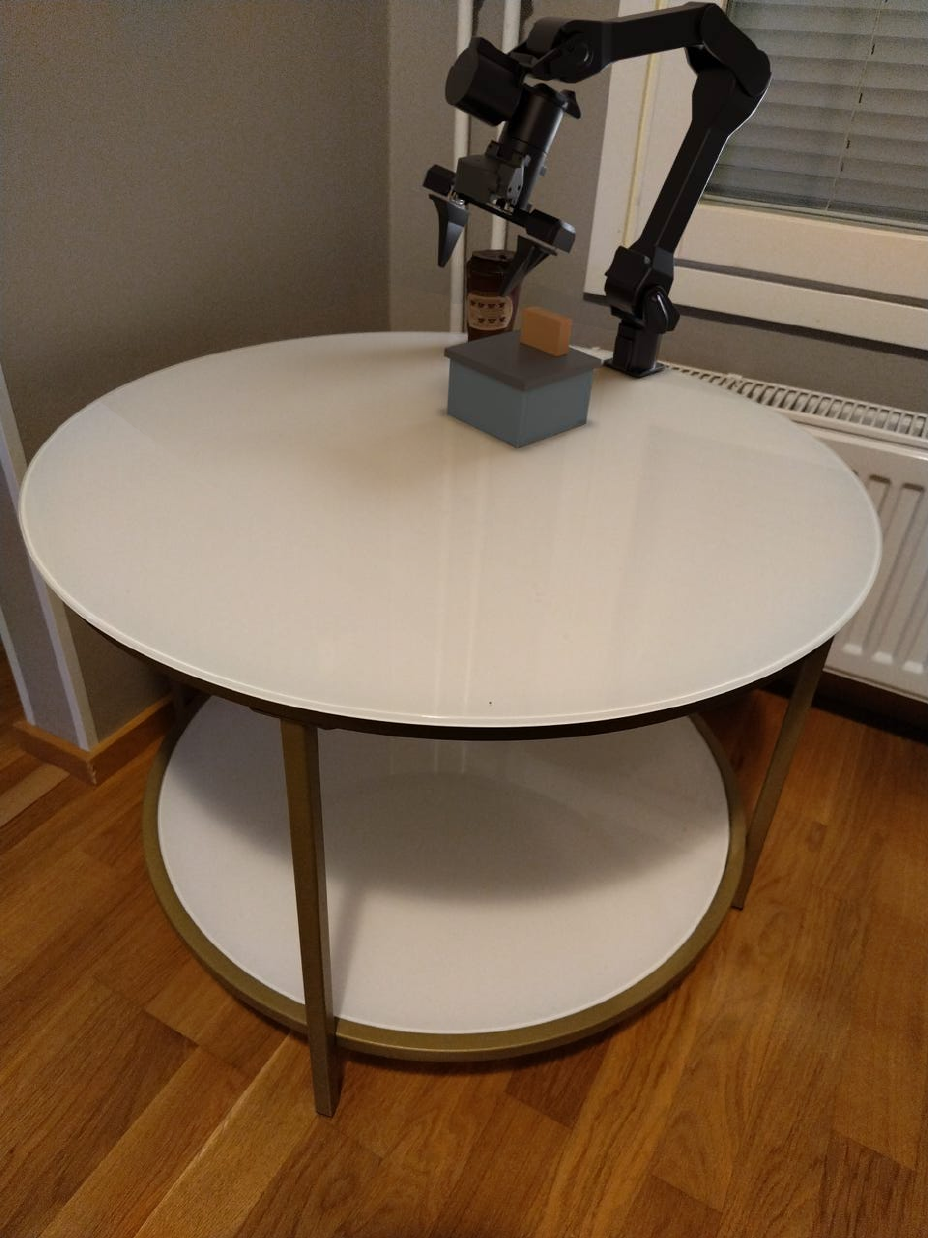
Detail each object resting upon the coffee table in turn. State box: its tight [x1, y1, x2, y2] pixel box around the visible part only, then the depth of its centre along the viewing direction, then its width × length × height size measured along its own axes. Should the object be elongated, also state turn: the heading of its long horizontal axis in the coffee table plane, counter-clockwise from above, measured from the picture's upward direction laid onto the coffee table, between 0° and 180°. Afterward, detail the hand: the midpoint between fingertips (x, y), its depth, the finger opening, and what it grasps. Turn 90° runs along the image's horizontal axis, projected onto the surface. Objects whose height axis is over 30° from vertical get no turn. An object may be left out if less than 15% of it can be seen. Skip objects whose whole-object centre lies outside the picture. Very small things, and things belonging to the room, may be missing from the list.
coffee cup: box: [465, 248, 525, 342], centre depth 121 cm, size 9×8×13 cm
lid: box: [443, 305, 603, 391], centre depth 99 cm, size 13×13×5 cm
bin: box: [446, 359, 595, 449], centre depth 102 cm, size 12×12×7 cm
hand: (470, 281), depth 103 cm, fingers open, 9 cm apart
